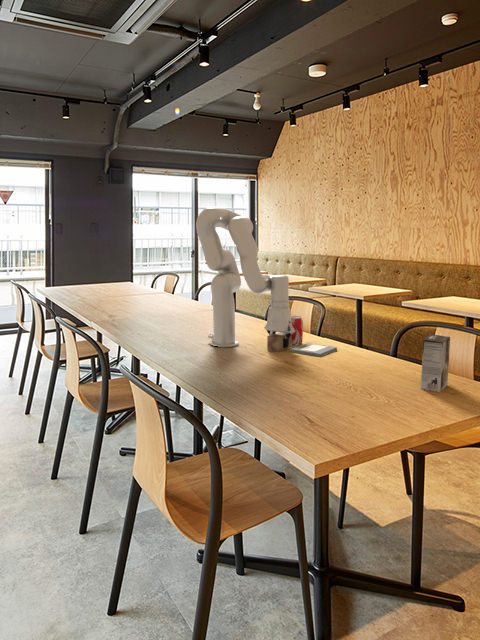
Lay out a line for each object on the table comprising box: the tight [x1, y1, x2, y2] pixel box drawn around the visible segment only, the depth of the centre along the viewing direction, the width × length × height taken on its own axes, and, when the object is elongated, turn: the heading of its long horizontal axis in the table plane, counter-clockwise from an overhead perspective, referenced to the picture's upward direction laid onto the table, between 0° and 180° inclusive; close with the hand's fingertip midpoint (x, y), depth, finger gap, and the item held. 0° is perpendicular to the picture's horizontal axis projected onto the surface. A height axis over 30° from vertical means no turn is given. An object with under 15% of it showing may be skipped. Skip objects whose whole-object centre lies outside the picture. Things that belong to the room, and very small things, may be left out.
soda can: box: [289, 315, 304, 346], centre depth 225 cm, size 7×7×12 cm
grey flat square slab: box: [290, 342, 338, 358], centre depth 212 cm, size 14×14×1 cm
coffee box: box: [420, 334, 451, 393], centre depth 160 cm, size 9×6×16 cm
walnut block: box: [266, 332, 293, 353], centre depth 216 cm, size 6×10×6 cm, turn 141°
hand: (279, 346), depth 216 cm, fingers closed on walnut block, 5 cm apart
